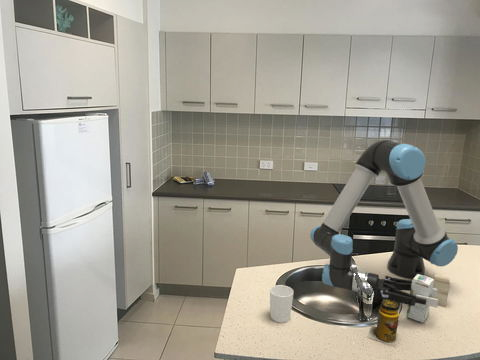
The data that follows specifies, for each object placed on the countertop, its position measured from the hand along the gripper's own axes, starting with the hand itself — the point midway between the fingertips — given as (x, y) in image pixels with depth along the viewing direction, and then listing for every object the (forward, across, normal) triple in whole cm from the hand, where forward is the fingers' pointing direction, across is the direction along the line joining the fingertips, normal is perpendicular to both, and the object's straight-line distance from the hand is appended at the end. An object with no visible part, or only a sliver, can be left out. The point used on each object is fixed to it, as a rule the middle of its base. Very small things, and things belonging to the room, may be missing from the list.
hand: (436, 298), depth 132 cm
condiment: (-15, +16, -9) cm, 24 cm away
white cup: (-48, +21, -9) cm, 53 cm away
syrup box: (-5, 0, -9) cm, 10 cm away
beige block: (+2, -15, -9) cm, 18 cm away
